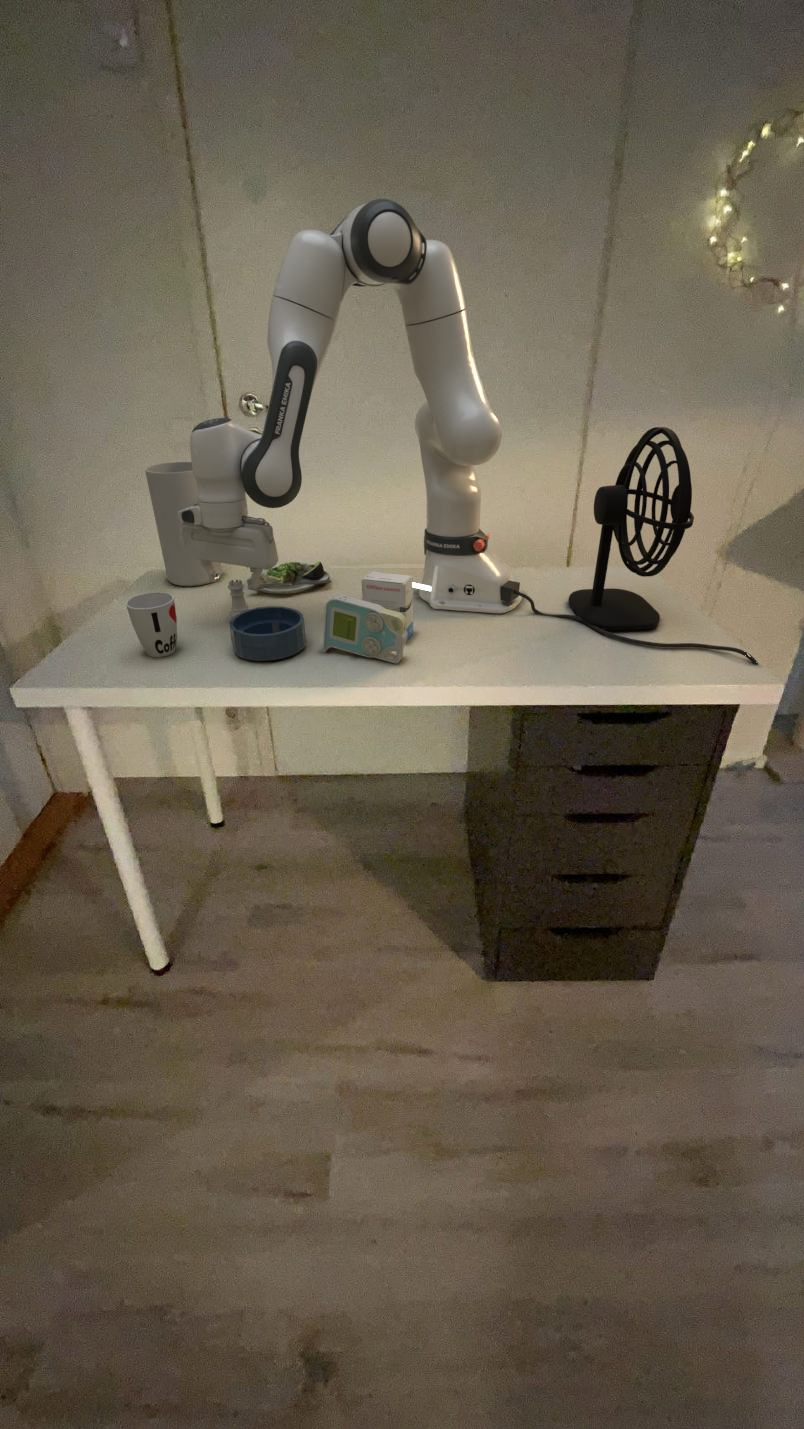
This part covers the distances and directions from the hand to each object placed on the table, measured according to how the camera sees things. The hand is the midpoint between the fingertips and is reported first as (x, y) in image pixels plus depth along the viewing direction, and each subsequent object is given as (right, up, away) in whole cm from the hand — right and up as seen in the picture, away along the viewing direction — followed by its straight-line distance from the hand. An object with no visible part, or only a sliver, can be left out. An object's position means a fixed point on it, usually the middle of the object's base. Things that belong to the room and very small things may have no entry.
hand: (234, 584), depth 129 cm
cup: (-11, -14, -8) cm, 20 cm away
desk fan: (+77, -5, +4) cm, 78 cm away
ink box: (+31, -11, -4) cm, 33 cm away
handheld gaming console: (+27, -15, -11) cm, 33 cm away
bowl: (+9, -13, -7) cm, 18 cm away
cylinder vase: (-16, +6, +26) cm, 31 cm away
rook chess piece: (0, -7, +4) cm, 8 cm away
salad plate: (+8, +5, +22) cm, 24 cm away
